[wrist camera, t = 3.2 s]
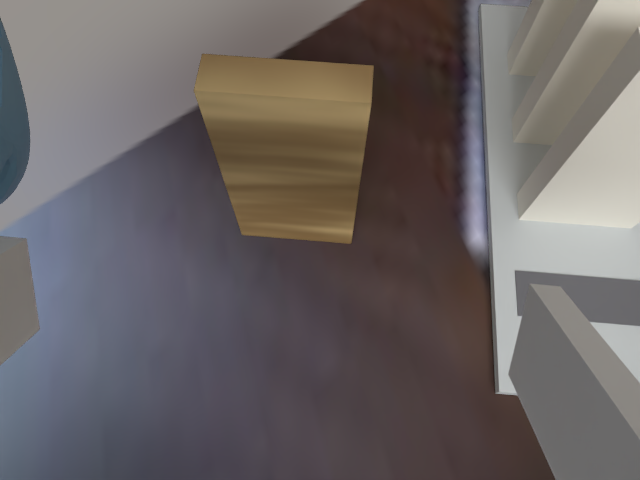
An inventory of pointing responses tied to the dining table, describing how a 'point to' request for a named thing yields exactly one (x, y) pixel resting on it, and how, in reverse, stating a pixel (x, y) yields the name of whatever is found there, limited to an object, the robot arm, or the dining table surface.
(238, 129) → the ochre tile
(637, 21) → the ivory tile
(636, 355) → the mat
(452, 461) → the dining table surface
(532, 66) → the ivory tile
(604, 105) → the ivory tile
